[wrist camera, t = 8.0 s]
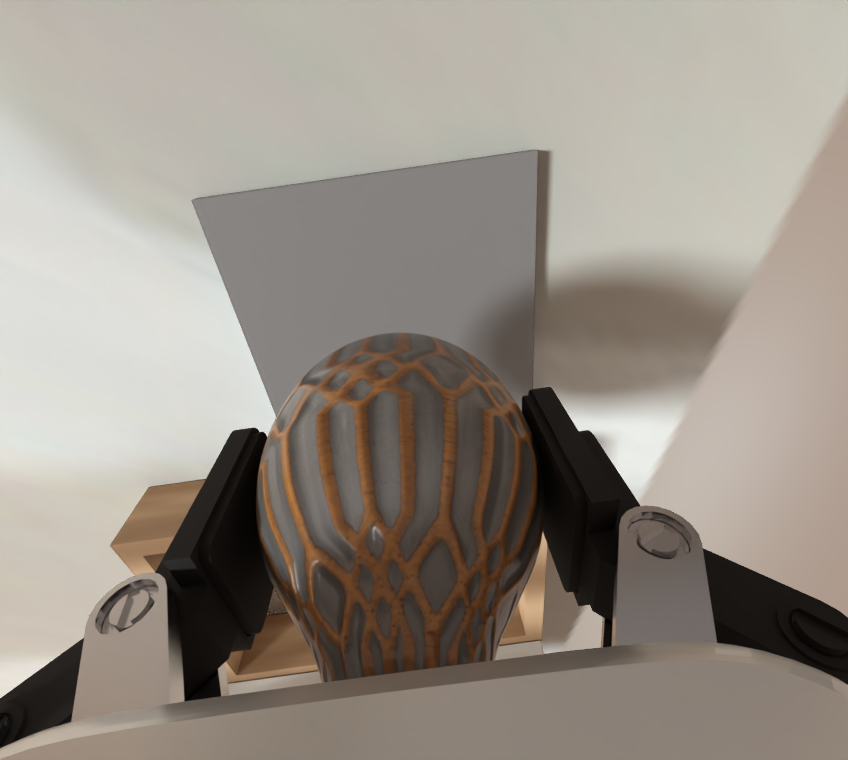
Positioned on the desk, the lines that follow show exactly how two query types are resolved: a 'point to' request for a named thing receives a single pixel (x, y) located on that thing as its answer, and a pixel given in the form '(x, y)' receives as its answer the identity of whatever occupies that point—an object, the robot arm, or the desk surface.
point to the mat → (383, 264)
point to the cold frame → (279, 638)
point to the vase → (399, 507)
